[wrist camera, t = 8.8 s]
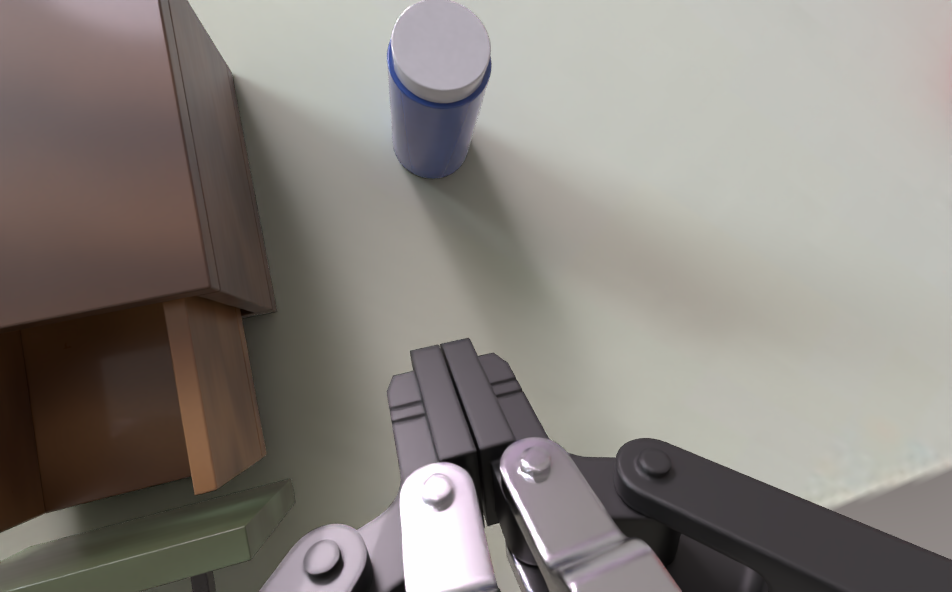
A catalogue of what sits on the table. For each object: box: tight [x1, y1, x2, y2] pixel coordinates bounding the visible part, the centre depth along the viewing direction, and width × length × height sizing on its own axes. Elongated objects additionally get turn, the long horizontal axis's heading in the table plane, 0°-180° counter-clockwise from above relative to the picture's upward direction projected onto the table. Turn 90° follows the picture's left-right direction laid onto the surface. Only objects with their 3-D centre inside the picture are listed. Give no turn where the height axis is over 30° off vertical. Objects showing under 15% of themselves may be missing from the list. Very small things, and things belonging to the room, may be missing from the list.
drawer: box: [0, 295, 296, 592], centre depth 20 cm, size 19×12×7 cm, turn 13°
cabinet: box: [0, 0, 277, 334], centre depth 21 cm, size 14×13×9 cm
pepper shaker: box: [387, 0, 491, 179], centre depth 24 cm, size 4×4×9 cm
